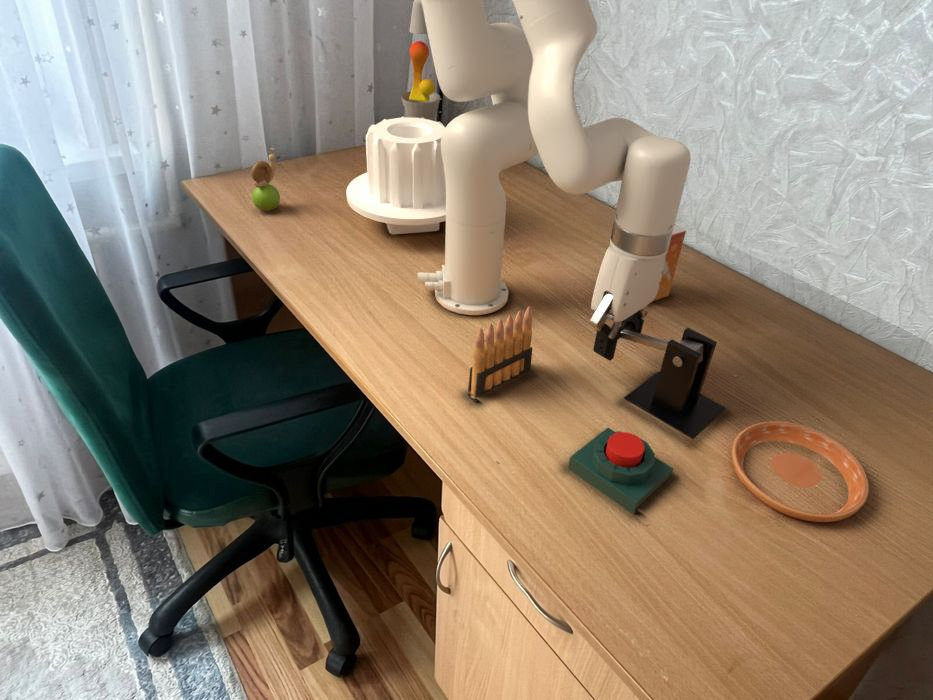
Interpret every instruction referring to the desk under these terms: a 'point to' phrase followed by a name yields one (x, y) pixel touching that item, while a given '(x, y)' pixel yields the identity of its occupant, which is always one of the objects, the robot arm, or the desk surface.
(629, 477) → the button block
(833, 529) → the desk surface
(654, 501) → the desk surface
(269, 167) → the snail figurine
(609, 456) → the button
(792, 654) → the desk surface
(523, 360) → the ammunition clip
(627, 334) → the lever
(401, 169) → the ribbed cylinder on disc
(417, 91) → the lava lamp
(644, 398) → the stand
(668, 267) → the small box
